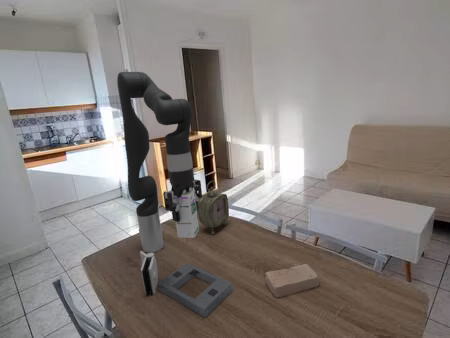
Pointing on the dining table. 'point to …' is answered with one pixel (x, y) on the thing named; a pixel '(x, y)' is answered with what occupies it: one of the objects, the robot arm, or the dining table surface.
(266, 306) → the dining table surface
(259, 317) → the dining table surface
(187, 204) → the syrup box
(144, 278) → the hinge
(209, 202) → the tabletop clock
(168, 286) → the rail plate
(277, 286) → the brick
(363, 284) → the dining table surface
